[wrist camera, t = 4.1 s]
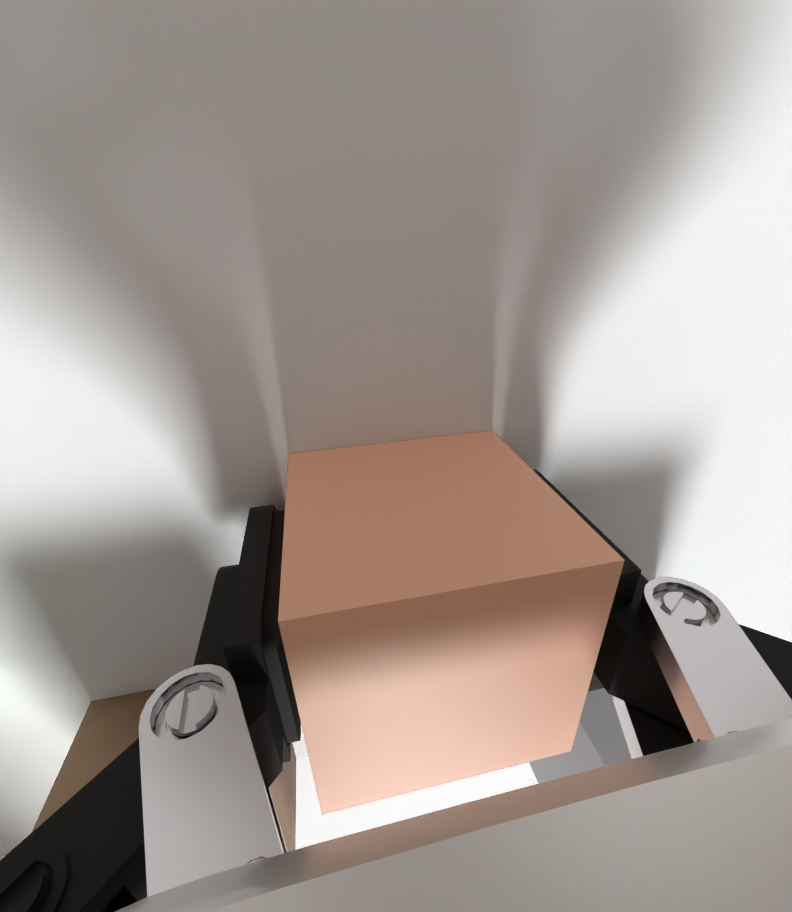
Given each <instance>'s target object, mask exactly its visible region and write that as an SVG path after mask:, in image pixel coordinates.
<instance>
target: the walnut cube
mask: <svg viewBox="0 0 792 912" xmlns="http://www.w3.org/2000/svg"><path fill="white" fill-rule="evenodd" d="M155 690H156V689H153V690H148V691H143V692H138V693H132V694H127V695H122V696H117V697H112V698H107V699H101V700H96V701H91V703H90V705H89V708H88V710H87V712H86V714H85V716H84V719H83V721H82V723H81V725H80V727H79V730H78V732H77V734H76V736H75V738H74V741H73V743H72V745H71V747H70V749H69V752H68V754H67V756H66V758H65V760H64V763H63V765H62V767H61V769H60V771H59V774H58V776H57V778H56V780H55V782H54V785H53V787H52V789H51V791H50V793H49V796H48V798H47V800H46V802H45V804H44V807H43V809H42V811H41V813H40V815H39V818H38V820H37V822H36V824H35V826H34V829H33V831H34V830H35V829H37V828H38V827H39V826H40V825H41V824H42V823H43V822H44V821H46V820H47V819H48V818H49V817H50V816H51V815H52V814H53V813H55V812H56V811H57V810H58V809H59V808H60V807H61V806H62V805H64V804H65V803H66V802H67V801H68V800H69V799H70V798H71V797H73V796H74V795H75V794H76V793H77V792H78V791H79V790H80V789H82V788H83V787H84V786H85V785H86V784H87V783H88V782H89V781H91V780H92V779H93V778H94V777H95V776H96V775H97V774H98V773H100V772H101V771H102V770H103V769H104V768H105V767H106V766H107V765H109V764H110V763H111V762H112V761H113V760H114V759H115V758H116V757H118V756H119V755H120V754H121V753H122V752H123V751H124V750H125V749H127V748H128V747H129V746H130V745H131V744H132V743H133V742H134V741H136V740H137V739H138V738H139V722H140V715H141V713H142V711H143V709H144V706H145V704H146V702H147V701H148V699H149V698H150V697H151V695H152V694H153V693H154V692H155ZM269 789H270V793H271V796H272V799H273V803H274V806H275V810H276V813H277V817H278V820H279V824H280V827H281V831H282V834H283V837H284V841H285V844H286V848H287V851H288V852H291V851H294V850H295V823H296V756H295V752H294V748H293V744H292V742H291V759H290V761H289V762H285V763H283V768H282V772H281V773H280V774H279V775H278V777H277V778H276V779H275V780H274V782H273V783H272V784H271V785H270V787H269ZM33 831H32V832H33Z"/></svg>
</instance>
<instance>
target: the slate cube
mask: <svg viewBox="0 0 792 912" xmlns="http://www.w3.org/2000/svg"><path fill="white" fill-rule="evenodd" d="M630 759H632V758H631V755H630V752H629V749H628V746H627V742H626V739H625V736H624V733H623V730H622V727H621V724H620V721H619V717H618V714H617V711H616V708H615V705H614V702H613V697H612V695H610V694H608V693H607V691H606V690H605V688H602V689H598V690H594V691H589V692H587V696H586V699H585V703H584V706H583V710H582V714H581V717H580V721H579V724H578V728H577V731H576V735H575V738H574V742H573V746H572V749H571V751H570V752H566V753H562V754H558V755H554V756H550V757H546V758H543V759H539V760H535V761H531V762H529V763H530V765H531V767H532V769H533V772H534V774H535V776H536V779H537V781H538V783H539V784H540V783H543V782H547V781H551V780H555V779H558V778H562V777H566V776H570V775H574V774H577V773H581V772H585V771H589V770H592V769H596V768H600V767H604V766H607V765H611V764H615V763H619V762H622V761H626V760H630Z"/></svg>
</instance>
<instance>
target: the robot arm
mask: <svg viewBox="0 0 792 912" xmlns="http://www.w3.org/2000/svg"><path fill="white" fill-rule="evenodd" d="M533 471H534V472H535V473H536V474H537V475H538V476H539V477H540V478H541V479H542V480H543V481H544V482H546V483H547V484H548V485H549V486H550V487H551V488H552V489H553V490H554V491H555V492H556V493H557V494H558V495H559V496H560V497H561V498H562V499H563V500H564V501H565V502H566V503H567V504H568V505H569V506H570V507H571V508H572V509H573V510H574V511H575V512H576V513H577V514H578V515H579V516H580V517H581V518H582V519H583V520H584V521H585V522H586V523H587V524H588V525H589V526H590V527H591V528H592V529H594V530H595V531H596V532H597V533H598V534H599V535H600V536H601V537H602V538H603V539H604V540H605V541H606V542H607V543H608V544H609V545H610V546H611V547H612V548H613V549H614V550H615V551H616V552H617V553H618V554H619V555H620V556H621V557H622V558H623V559H624V560H625V561H624V564H623V568H622V571H621V575H620V578H619V582H618V586H617V589H616V593H615V596H614V600H613V603H612V607H611V610H610V614H609V618H608V621H607V625H606V628H605V632H604V635H603V639H602V642H601V646H600V650H599V653H598V657H597V660H596V664H595V667H594V671H593V674H592V678H591V682H590V685H589V689H588V692H589V691H594V690H598V689H602V688H605V690H606V691H607V693H608V694H610V695H612V697H613V702H614V705H615V708H616V711H617V714H618V717H619V721H620V724H621V727H622V730H623V733H624V736H625V739H626V742H627V746H628V749H629V752H630V755H631V758H632V759H630V760H626V761H622V762H619V763H615V764H611V765H607V766H604V767H600V768H596V769H592V770H589V771H585V772H581V773H577V774H574V775H570V776H566V777H562V778H558V779H555V780H551V781H547V782H543V783H540V784H536V785H532V786H528V787H525V788H521V789H517V790H514V791H510V792H506V793H502V794H499V795H495V796H491V797H487V798H484V799H480V800H476V801H472V802H469V803H465V804H461V805H458V806H454V807H450V808H447V809H443V810H439V811H436V812H432V813H428V814H425V815H421V816H417V817H414V818H410V819H406V820H403V821H399V822H395V823H392V824H388V825H384V826H381V827H377V828H373V829H370V830H366V831H362V832H359V833H355V834H351V835H348V836H344V837H340V838H337V839H333V840H329V841H326V842H322V843H318V844H315V845H311V846H308V847H304V848H301V849H298V850H294V851H291V852H288V851H287V848H286V844H285V841H284V837H283V834H282V831H281V827H280V824H279V820H278V817H277V813H276V810H275V806H274V803H273V799H272V796H271V793H270V789H269V787H270V785H271V784H272V783H273V782H274V780H275V779H276V778H277V777H278V775H279V774H280V773H281V772H282V768H283V763H285V762H289V761H290V759H291V742H295V741H300V736H301V720H300V716H299V712H298V707H297V703H296V698H295V694H294V690H293V685H292V681H291V677H290V672H289V668H288V663H287V659H286V655H285V650H284V646H283V641H282V637H281V633H280V628H279V624H278V613H279V597H280V581H281V565H282V549H283V533H284V517H285V512H284V510H283V509H282V510H276V508H275V506H274V505H268V506H260V507H253V508H250V510H249V515H248V521H247V526H246V531H245V536H244V541H243V547H242V552H241V557H240V562H239V565H232V566H226V567H221V568H220V569H219V570H218V572H217V575H216V579H215V583H214V587H213V591H212V595H211V599H210V603H209V606H208V610H207V614H206V618H205V622H204V626H203V630H202V634H201V638H200V642H199V646H198V650H197V654H196V658H195V662H194V665H193V667H190V668H187V669H184V670H182V671H180V672H179V673H177V674H175V675H173V676H172V677H170V678H169V679H167V680H166V681H165V682H164V683H163V684H162V685H160V686H159V687H158V688H157V689H156V690H155V692H154V693H153V694H152V695H151V697H150V698H149V699H148V701H147V702H146V704H145V706H144V709H143V711H142V713H141V715H140V722H139V738H138V739H137V740H136V741H134V742H133V743H132V744H131V745H130V746H129V747H128V748H127V749H125V750H124V751H123V752H122V753H121V754H120V755H119V756H118V757H116V758H115V759H114V760H113V761H112V762H111V763H110V764H109V765H107V766H106V767H105V768H104V769H103V770H102V771H101V772H100V773H98V774H97V775H96V776H95V777H94V778H93V779H92V780H91V781H89V782H88V783H87V784H86V785H85V786H84V787H83V788H82V789H80V790H79V791H78V792H77V793H76V794H75V795H74V796H73V797H71V798H70V799H69V800H68V801H67V802H66V803H65V804H64V805H62V806H61V807H60V808H59V809H58V810H57V811H56V812H55V813H53V814H52V815H51V816H50V817H49V818H48V819H47V820H46V821H44V822H43V823H42V824H41V825H40V826H39V827H38V828H37V829H35V830H34V831H33V832H32V833H31V834H30V835H29V836H28V837H27V838H25V839H24V840H23V841H22V842H21V843H20V844H19V845H18V846H16V847H15V848H14V849H13V850H12V851H11V852H10V853H9V854H7V855H6V856H5V857H4V858H3V859H2V860H1V861H0V912H792V643H791V642H789V641H786V640H783V639H780V638H777V637H774V636H771V635H768V634H765V633H763V632H760V631H757V630H754V629H751V628H748V627H745V626H742V625H739V624H738V623H737V622H736V620H735V619H734V618H733V616H732V615H731V613H730V612H729V610H728V609H727V608H726V606H725V605H724V604H723V603H722V602H721V601H720V600H719V599H718V597H716V596H715V595H713V594H712V593H711V592H709V591H708V590H707V589H705V588H703V587H701V586H699V585H697V584H695V583H692V582H689V581H686V580H683V579H679V578H673V577H659V578H655V579H652V580H650V581H648V580H647V579H645V578H644V577H643V576H642V575H641V574H640V573H641V570H640V569H639V568H638V567H637V566H636V565H635V564H634V563H633V562H632V561H631V560H630V559H629V558H628V557H627V556H626V555H625V554H624V553H623V552H622V551H621V550H620V549H619V548H618V547H617V546H615V545H614V544H613V543H612V542H611V541H610V540H609V539H608V538H607V537H606V536H605V535H604V534H603V533H602V532H601V531H600V530H599V529H598V528H597V527H596V526H595V525H594V524H593V523H592V522H591V521H589V520H588V519H587V518H586V517H585V516H584V515H583V514H582V513H581V512H580V511H579V510H578V509H577V508H576V507H575V506H574V505H573V504H572V503H571V502H570V501H569V500H568V499H567V498H566V497H564V496H563V495H562V494H561V493H560V492H559V491H558V490H557V489H556V488H555V487H554V486H553V485H552V484H551V483H550V482H549V481H548V480H547V479H546V478H545V477H544V476H543V475H542V474H541V473H540V472H538V471H537V470H533Z"/></svg>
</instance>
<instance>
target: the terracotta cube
mask: <svg viewBox="0 0 792 912" xmlns="http://www.w3.org/2000/svg"><path fill="white" fill-rule="evenodd" d="M624 561H625V560H624V559H623V558H622V557H621V556H620V555H619V554H618V553H617V552H616V551H615V550H614V549H613V548H612V547H611V546H610V545H609V544H608V543H607V542H606V541H605V540H604V539H603V538H602V537H601V536H600V535H599V534H598V533H597V532H596V531H595V530H594V529H592V528H591V527H590V526H589V525H588V524H587V523H586V522H585V521H584V520H583V519H582V518H581V517H580V516H579V515H578V514H577V513H576V512H575V511H574V510H573V509H572V508H571V507H570V506H569V505H568V504H567V503H566V502H565V501H564V500H563V499H562V498H561V497H560V496H559V495H558V494H557V493H556V492H555V491H554V490H553V489H552V488H551V487H550V486H549V485H548V484H547V483H546V482H544V481H543V480H542V479H541V478H540V477H539V476H538V475H537V474H536V473H535V472H534V471H533V470H532V469H531V468H530V467H529V466H528V465H527V464H526V463H525V462H524V461H523V460H522V459H521V458H520V457H519V456H518V455H517V454H516V453H515V452H514V451H513V450H512V449H511V448H510V447H509V446H508V445H507V444H506V443H505V442H504V441H503V440H502V439H501V438H500V437H499V436H498V435H496V434H495V433H494V432H493V431H492V430H490V431H481V432H473V433H464V434H456V435H447V436H438V437H430V438H421V439H412V440H404V441H395V442H386V443H378V444H369V445H360V446H352V447H343V448H335V449H326V450H317V451H309V452H300V453H291V454H288V468H287V484H286V501H285V517H284V533H283V549H282V565H281V581H280V597H279V613H278V624H279V628H280V633H281V637H282V641H283V646H284V650H285V655H286V659H287V663H288V668H289V672H290V677H291V681H292V685H293V690H294V694H295V698H296V703H297V707H298V712H299V716H300V720H301V725H302V729H303V734H304V738H305V742H306V747H307V751H308V756H309V760H310V764H311V769H312V773H313V777H314V782H315V786H316V791H317V795H318V799H319V804H320V808H321V813H322V814H326V813H330V812H334V811H338V810H342V809H346V808H350V807H354V806H358V805H362V804H366V803H369V802H373V801H377V800H381V799H385V798H389V797H393V796H397V795H401V794H405V793H409V792H413V791H417V790H421V789H425V788H428V787H432V786H436V785H440V784H444V783H448V782H452V781H456V780H460V779H464V778H468V777H472V776H476V775H480V774H484V773H487V772H491V771H495V770H499V769H503V768H507V767H511V766H515V765H519V764H523V763H527V762H531V761H535V760H539V759H543V758H546V757H550V756H554V755H558V754H562V753H566V752H570V751H571V749H572V746H573V742H574V738H575V735H576V731H577V728H578V724H579V721H580V717H581V714H582V710H583V706H584V703H585V699H586V696H587V692H588V689H589V685H590V682H591V678H592V674H593V671H594V667H595V664H596V660H597V657H598V653H599V650H600V646H601V642H602V639H603V635H604V632H605V628H606V625H607V621H608V618H609V614H610V610H611V607H612V603H613V600H614V596H615V593H616V589H617V586H618V582H619V578H620V575H621V571H622V568H623V564H624Z"/></svg>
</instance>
